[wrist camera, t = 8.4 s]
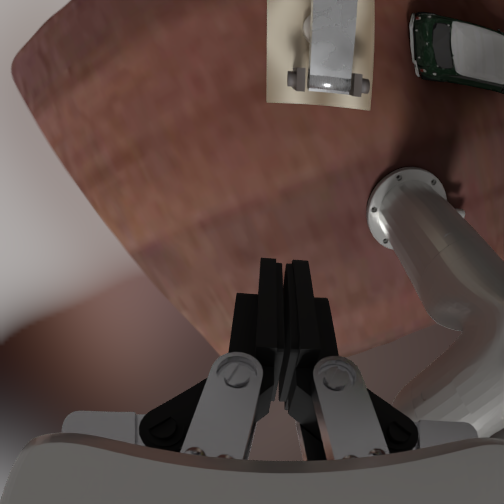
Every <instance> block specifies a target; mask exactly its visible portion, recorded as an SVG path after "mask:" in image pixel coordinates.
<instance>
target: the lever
mask: <svg viewBox="0 0 504 504" xmlns="http://www.w3.org/2000/svg"><path fill="white" fill-rule="evenodd" d="M357 2H358V0H311V21H310V45H309V64H308V75H307V88H308V90H309V91H315V92H327V93H337V94H346V95H349V92H350V89H351V74H352V65H353V55H354V44H355V32H356V18H357Z"/></svg>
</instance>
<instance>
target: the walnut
mask: <svg viewBox="0 0 504 504" xmlns="http://www.w3.org/2000/svg"><path fill="white" fill-rule="evenodd" d="M310 21H311V14H310V15H309V16H308V17H307V19H306V20H305V21H304V23H303V27H302V31H303V35H304V37H305V39H306V40H307V41H308V42H309V43H310Z"/></svg>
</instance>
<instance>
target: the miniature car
mask: <svg viewBox="0 0 504 504" xmlns="http://www.w3.org/2000/svg"><path fill="white" fill-rule="evenodd" d="M414 15H415V13H412V16H411V20H410V24H409V28H410V46H411V53H412V62H413V63H414V67H415V72H416V75H417V76H418V77H420V75H419V72H418V70H419V71H420V73H421V76H422V79H423V80H431V81H438V82H444V81H445V82H450V83H456V84H462V85H468V86H473V87H478V88H483V89H488V90H492V91H496V92H499V93H502V94H504V33H503V32H500V29H498V31H495V30H492V29H489V28H486V27H483V26H480V25H477V24H473V23H470V22H465V21H461V20H457V19H453V18H448V17H444V16H439V15H437V14H434V13H427V12H417V13H416V17H415V19H414ZM412 28H413V29H414V45H415V56H416V60H415V57H414V45H413V29H412Z"/></svg>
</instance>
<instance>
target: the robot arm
mask: <svg viewBox="0 0 504 504" xmlns="http://www.w3.org/2000/svg"><path fill="white" fill-rule="evenodd" d="M397 176H398V177H397ZM373 207H374V208H373ZM366 217H367V224H368V226H369V229H370V231H371V233H372V235H373V236H374V238H375V239H376V240H377V241H378V242H379V243H380V244H381V245H383V246H385V247H387V248H389V249H393V250H394V251H395V253H396V255H397V256H398V258H399V260H400V262H401V264H402V265H403V267H404V269H405V271H406V273H407V275H408V276H409V278H410V280H411V282H412V284H413V286H414V288H415V290H416V292H417V294H418V296H419V298H420V300H421V301H422V303H423V305H424V307H425V309H426V311H427V313H428V314H429V315H430V316H431V318H432V319H433V320H435V321H436V322H437V323H438V324H440V325H442V326H445V327H447V328H450V329H454V330H458V331H462V333H461V335H460V336H459V337H458V338H457V339H456V340H455V342H454V343H453V344H452V345H451V346H450V347H449V348H448V349H447V350H446V351H445V352H444V353H443V354H442V355H440V356H439V357H438V358H437V359H436V360H435V361H434V362H432V363H431V364H430V365H429V366H428V367H426V368H425V369H424V370H423V371H422V372H421V373H419V374H418V375H417V376H416V377H415V378H413V379H412V380H411V381H410V382H409V383H408V384H407V385H406V386H404V387H403V388H402V389H401V391H400V392H399V393H398V394H397V396H396V398H395V399H394V401H393V404H392V406H391V405H390V404H388V403H387V402H386V401H384V400H383V399H381V398H380V397H378V396H377V395H376V394H374V393H373V392H371V391H370V390H369V389H367V388H366V385H365V383H364V380H363V377H362V375H361V372H360V370H359V369H358V367H357V365H355V364H354V363H353V362H352V361H350V360H348V359H347V358H345V357H341V356H339V355H338V349H337V343H336V338H335V332H334V327H333V321H332V316H331V311H330V305H329V301H328V299H327V298H315V297H314V294H313V288H312V281H311V275H310V269H309V263H308V261H303V260H292V264H286V269H285V277H284V284H283V277H282V263H276V259H271V258H261V262H260V277H259V291H258V294H244V293H237V295H236V302H235V309H234V316H233V324H232V331H231V338H230V346H229V353H227V354H224V355H222V356H220V357H219V358H218V359H217V360H216V361H215V362H214V364H213V365H212V367H211V370H210V373H209V376H208V378H206V379H204V380H203V381H201V382H200V383H198V384H196V385H195V386H193V387H191V388H190V389H188V390H186V391H185V392H183V393H181V394H179V395H178V396H176V397H174V398H173V399H171V400H169V401H167V402H166V403H164V404H162V405H160V406H159V407H157V408H155V409H153V410H151V411H150V412H148V413H147V414H146V415H136V413H135V412H97V411H75V412H73V413H71V414H69V415H68V416H67V417H66V419H65V420H64V423H63V426H62V433H53V434H46V435H42V436H38V437H36V438H33V439H32V440H30V441H29V442H28V443H27V444H26V445H25V446H24V448H23V449H22V450H21V452H20V453H19V455H18V457H17V459H16V461H15V463H14V465H13V467H12V469H11V472H10V474H9V477H8V479H7V483H6V485H5V488H4V491H3V494H2V497H1V501H0V504H504V261H503V260H502V259H501V258H500V257H499V256H498V255H497V254H496V252H495V251H494V250H493V249H492V248H491V247H490V246H489V245H488V244H487V243H486V241H485V240H484V239H483V238H482V237H481V236H480V235H479V234H478V233H477V232H476V231H475V229H474V228H473V227H472V226H471V225H470V224H469V223H468V222H467V221H466V220H465V219H464V217H465V211H464V210H463V209H455V208H454V207H453V206H452V205H451V204H450V203H449V202H447V197H446V192H445V189H444V187H443V185H442V184H441V182H440V181H439V179H438V178H436V177H435V176H434V175H433V174H432V173H430V172H429V171H427V170H425V169H422V168H418V167H404V168H401V169H397V170H395V171H393V172H391V173H389V174H388V175H387V176H385V177H384V178H383V179H382V180H381V181H380V182H379V183H378V184H377V185H376V187H375V188H374V190H373V191H372V193H371V196H370V198H369V200H368V205H367V212H366ZM278 380H279V401H284V402H285V410H288V414H289V415H290V416H292V417H293V418H294V419H295V420H296V428H297V433H298V438H299V443H300V448H301V453H302V458H303V461H258V460H248V457H249V453H250V449H251V445H252V441H253V436H254V432H255V428H256V423H257V421H259V420H260V419H261V418H262V417H264V416H265V415H267V414H268V413H269V408H270V402H271V401H274V400H275V394H276V390H277V385H278Z"/></svg>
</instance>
